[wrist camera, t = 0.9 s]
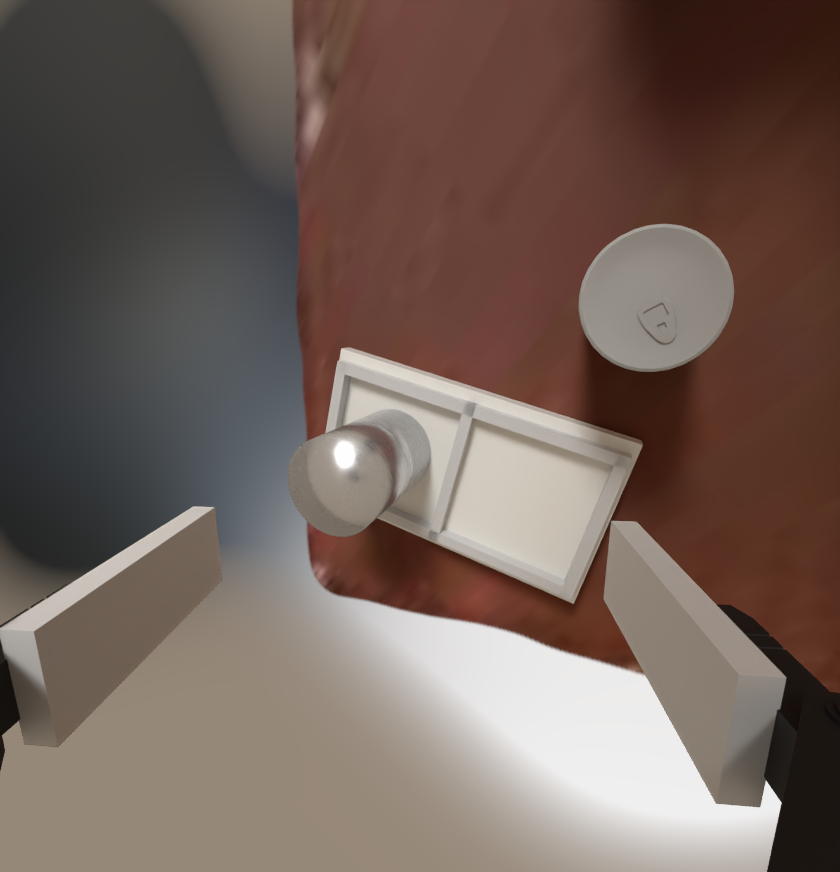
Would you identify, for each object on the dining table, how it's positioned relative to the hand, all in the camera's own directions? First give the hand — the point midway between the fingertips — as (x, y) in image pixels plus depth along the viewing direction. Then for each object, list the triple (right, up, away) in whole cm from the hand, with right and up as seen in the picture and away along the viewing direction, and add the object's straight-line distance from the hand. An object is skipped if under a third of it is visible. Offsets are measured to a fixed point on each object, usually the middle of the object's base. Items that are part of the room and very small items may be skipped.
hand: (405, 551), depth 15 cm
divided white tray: (+4, +1, +28) cm, 29 cm away
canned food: (+17, +14, +20) cm, 30 cm away
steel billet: (-2, +2, +29) cm, 29 cm away
